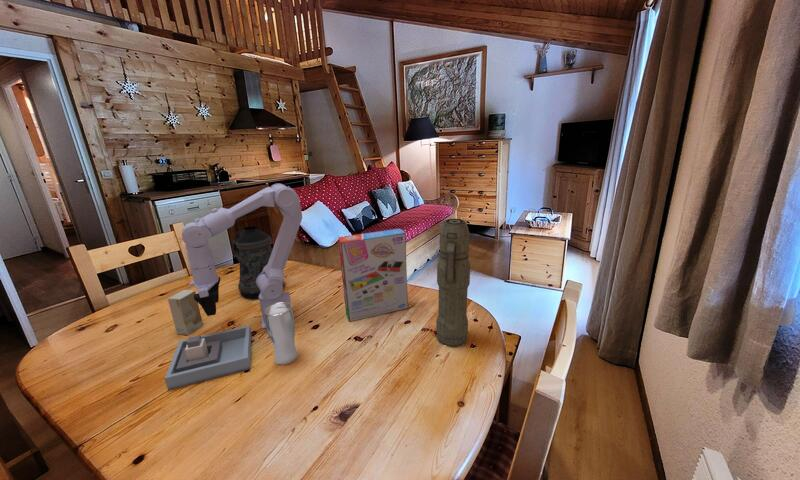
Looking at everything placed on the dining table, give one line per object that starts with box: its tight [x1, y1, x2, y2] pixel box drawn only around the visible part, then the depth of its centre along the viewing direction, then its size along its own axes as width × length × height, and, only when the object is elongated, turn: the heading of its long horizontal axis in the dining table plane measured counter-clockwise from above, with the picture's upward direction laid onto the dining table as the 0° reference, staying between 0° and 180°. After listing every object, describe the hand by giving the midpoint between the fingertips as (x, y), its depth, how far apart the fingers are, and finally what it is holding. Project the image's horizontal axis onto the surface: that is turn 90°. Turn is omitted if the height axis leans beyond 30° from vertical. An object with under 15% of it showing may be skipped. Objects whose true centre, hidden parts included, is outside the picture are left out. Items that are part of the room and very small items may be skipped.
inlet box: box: [164, 325, 253, 391], centre depth 88 cm, size 18×16×4 cm
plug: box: [185, 334, 209, 362], centre depth 86 cm, size 4×4×7 cm
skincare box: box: [167, 289, 204, 336], centre depth 101 cm, size 6×4×12 cm
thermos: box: [435, 218, 471, 348], centre depth 89 cm, size 9×12×35 cm
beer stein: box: [231, 226, 285, 301], centre depth 123 cm, size 16×19×25 cm
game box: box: [338, 228, 409, 323], centre depth 105 cm, size 21×6×27 cm, turn 110°
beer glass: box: [265, 302, 299, 366], centre depth 86 cm, size 7×7×15 cm
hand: (213, 308), depth 95 cm, fingers open, 7 cm apart
